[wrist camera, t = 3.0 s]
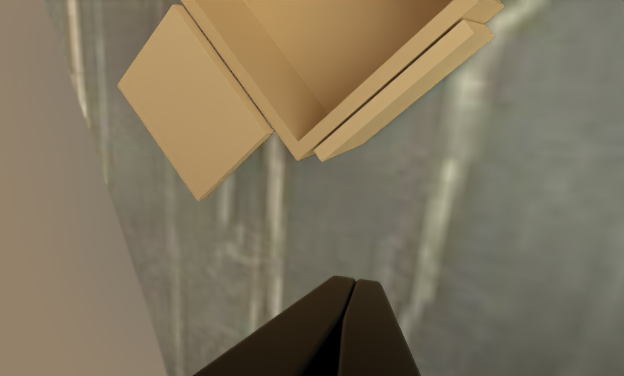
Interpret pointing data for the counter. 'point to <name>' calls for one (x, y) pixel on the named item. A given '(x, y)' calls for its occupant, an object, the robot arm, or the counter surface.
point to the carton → (291, 74)
